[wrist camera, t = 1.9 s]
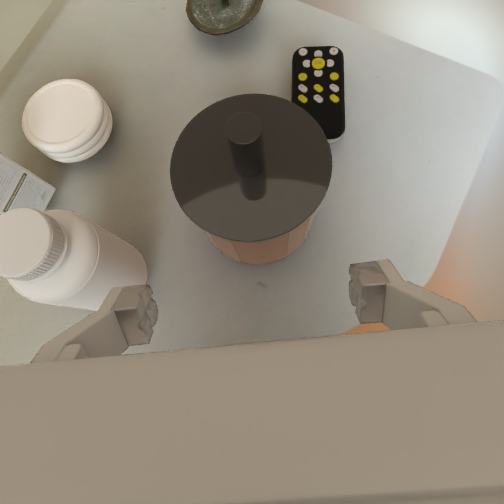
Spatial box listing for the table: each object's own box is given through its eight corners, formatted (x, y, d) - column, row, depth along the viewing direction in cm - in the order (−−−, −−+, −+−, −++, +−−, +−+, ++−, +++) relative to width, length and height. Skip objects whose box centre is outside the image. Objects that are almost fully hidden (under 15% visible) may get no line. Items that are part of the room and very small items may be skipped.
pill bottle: (66, 277, 40) (-57, 240, 25) (120, 229, 40) (31, 167, 26) (108, 328, 38) (0, 321, 23) (163, 277, 39) (93, 240, 24)
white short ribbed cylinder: (101, 169, 43) (85, 155, 39) (28, 158, 44) (7, 143, 40) (123, 100, 45) (111, 80, 41) (53, 91, 46) (35, 71, 43)
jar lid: (287, 273, 28) (289, 254, 22) (145, 204, 30) (112, 171, 24) (355, 134, 30) (374, 84, 24) (219, 82, 33) (205, 24, 27)
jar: (283, 284, 37) (284, 263, 27) (183, 235, 40) (150, 199, 30) (331, 186, 40) (349, 133, 30) (234, 145, 42) (220, 83, 32)
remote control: (290, 145, 41) (291, 135, 39) (292, 56, 45) (292, 43, 43) (343, 145, 41) (346, 135, 39) (341, 55, 44) (344, 42, 42)
